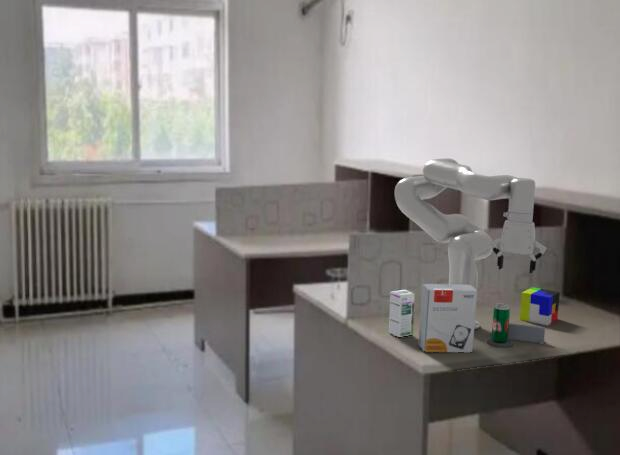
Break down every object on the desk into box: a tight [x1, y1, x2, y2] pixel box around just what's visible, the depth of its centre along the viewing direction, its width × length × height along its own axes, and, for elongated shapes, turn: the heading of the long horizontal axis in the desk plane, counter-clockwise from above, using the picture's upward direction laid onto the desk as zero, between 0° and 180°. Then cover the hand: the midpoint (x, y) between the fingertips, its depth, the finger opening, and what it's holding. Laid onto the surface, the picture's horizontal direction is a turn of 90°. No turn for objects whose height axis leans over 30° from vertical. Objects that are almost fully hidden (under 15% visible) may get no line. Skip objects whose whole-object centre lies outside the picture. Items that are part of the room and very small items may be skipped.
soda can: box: [490, 302, 511, 343], centre depth 240 cm, size 5×5×12 cm
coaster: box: [486, 337, 514, 348], centre depth 241 cm, size 8×8×1 cm
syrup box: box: [388, 289, 416, 337], centre depth 246 cm, size 6×6×14 cm
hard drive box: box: [418, 283, 478, 353], centre depth 233 cm, size 16×8×20 cm, turn 96°
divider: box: [508, 322, 546, 345], centre depth 245 cm, size 16×4×5 cm, turn 68°
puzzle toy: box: [519, 286, 561, 326], centre depth 268 cm, size 10×10×10 cm
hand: (515, 270), depth 241 cm, fingers open, 9 cm apart
